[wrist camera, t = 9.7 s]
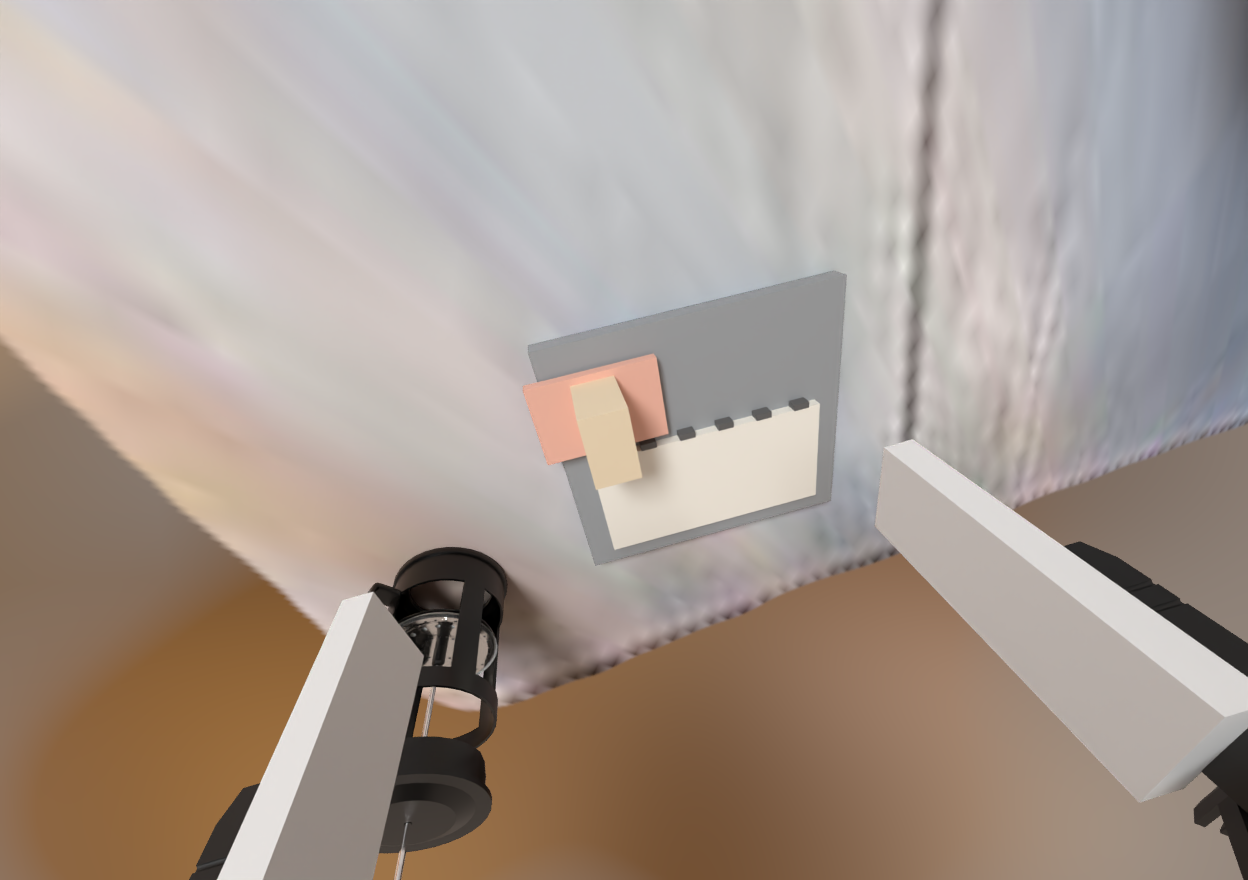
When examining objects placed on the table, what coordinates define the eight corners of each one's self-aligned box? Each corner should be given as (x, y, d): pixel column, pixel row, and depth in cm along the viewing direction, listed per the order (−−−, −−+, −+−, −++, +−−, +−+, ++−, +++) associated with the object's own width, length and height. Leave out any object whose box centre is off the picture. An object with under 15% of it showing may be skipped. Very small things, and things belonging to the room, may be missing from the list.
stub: (653, 353, 30) (677, 387, 26) (665, 428, 34) (689, 471, 29) (522, 385, 30) (521, 426, 25) (547, 459, 33) (550, 508, 28)
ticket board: (834, 270, 32) (854, 277, 30) (821, 491, 42) (836, 506, 40) (527, 345, 30) (528, 357, 28) (593, 553, 41) (596, 573, 39)
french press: (534, 574, 41) (539, 938, 21) (478, 636, 44) (437, 1010, 24) (408, 521, 36) (262, 939, 16) (354, 596, 38) (172, 1031, 19)
